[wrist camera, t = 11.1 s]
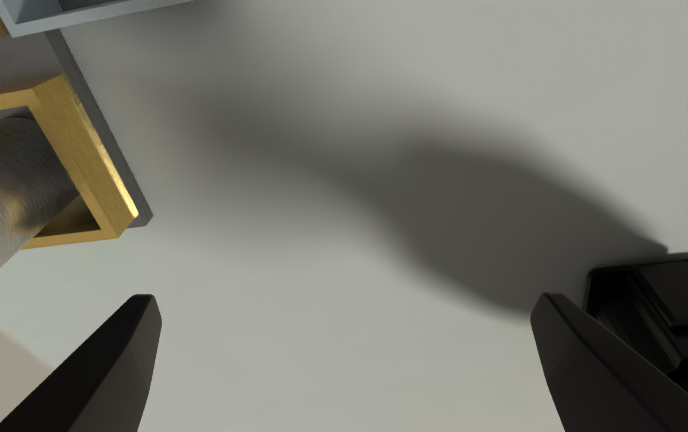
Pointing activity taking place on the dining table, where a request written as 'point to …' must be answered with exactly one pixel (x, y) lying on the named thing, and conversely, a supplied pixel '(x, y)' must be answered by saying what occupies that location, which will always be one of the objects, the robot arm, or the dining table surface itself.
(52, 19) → the grey square dish
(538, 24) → the dining table surface
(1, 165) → the billet
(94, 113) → the gold holder tray
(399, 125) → the dining table surface
